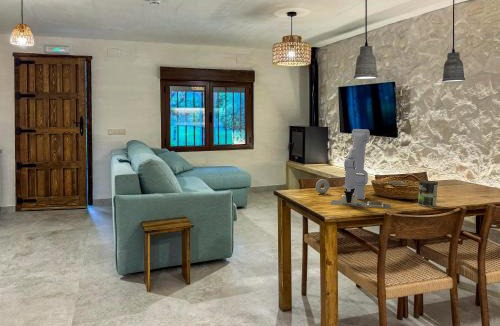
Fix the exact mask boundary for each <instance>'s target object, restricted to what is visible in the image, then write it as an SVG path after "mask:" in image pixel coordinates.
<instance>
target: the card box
mask: <svg viewBox="0 0 500 326" xmlns="http://www.w3.org/2000/svg"><path fill="white" fill-rule="evenodd" d="M340 201H341V204H353V205H357V202H358V199H357V196H355V195H352V199H351V203H347V201H346V195H345V194H342V195H341V198H340Z"/></svg>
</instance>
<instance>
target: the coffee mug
mask: <svg viewBox="0 0 500 326" xmlns="http://www.w3.org/2000/svg"><path fill="white" fill-rule="evenodd" d="M388 183H390V184H395V185H405V186H406V183H405V182H402V181H396V180H395V181H393V180H391V181H388Z"/></svg>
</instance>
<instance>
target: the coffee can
mask: <svg viewBox="0 0 500 326" xmlns="http://www.w3.org/2000/svg"><path fill="white" fill-rule="evenodd" d="M418 184H419V185H418V197H417V198H418V199H417V200H418V201H417V205H418V204H419V205H418V206H420V205H422V206H421V207H425V206H435V207H437V201H438V200H437V199H438V198H437V197H438V187H439V185H438V184H439V182H438V181H435V180H423V179H422V180H419V181H418Z"/></svg>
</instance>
